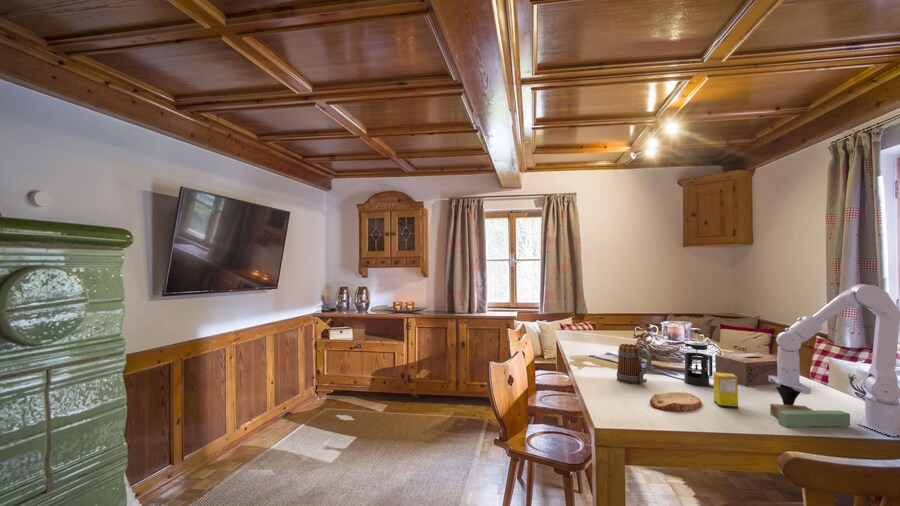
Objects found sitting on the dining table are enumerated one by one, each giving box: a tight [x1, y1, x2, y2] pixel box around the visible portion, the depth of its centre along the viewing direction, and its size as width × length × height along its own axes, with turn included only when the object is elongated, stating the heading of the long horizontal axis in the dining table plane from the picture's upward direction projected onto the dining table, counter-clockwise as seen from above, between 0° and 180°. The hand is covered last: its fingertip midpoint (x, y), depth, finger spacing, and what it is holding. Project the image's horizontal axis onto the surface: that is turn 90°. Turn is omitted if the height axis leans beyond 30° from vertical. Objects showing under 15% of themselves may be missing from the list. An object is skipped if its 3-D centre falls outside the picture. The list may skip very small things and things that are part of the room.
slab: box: [769, 403, 815, 420], centre depth 134 cm, size 6×10×4 cm, turn 79°
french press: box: [683, 327, 714, 387], centre depth 174 cm, size 12×9×23 cm
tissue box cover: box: [714, 352, 778, 387], centre depth 179 cm, size 26×14×10 cm, turn 103°
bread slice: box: [649, 391, 702, 413], centre depth 148 cm, size 18×18×4 cm
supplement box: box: [712, 371, 739, 409], centre depth 147 cm, size 6×6×11 cm
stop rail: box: [777, 409, 851, 428], centre depth 128 cm, size 3×20×4 cm, turn 91°
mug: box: [616, 343, 652, 385], centre depth 175 cm, size 16×11×15 cm
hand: (788, 409), depth 137 cm, fingers closed
